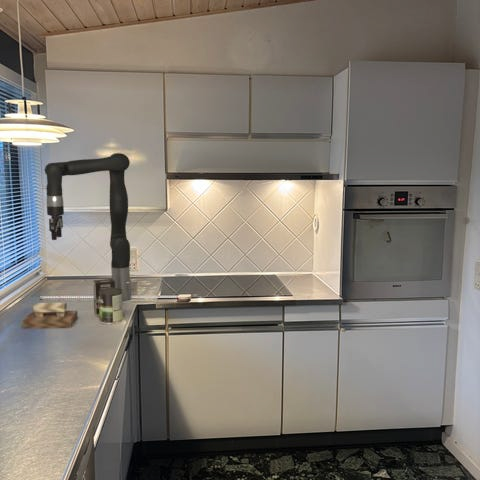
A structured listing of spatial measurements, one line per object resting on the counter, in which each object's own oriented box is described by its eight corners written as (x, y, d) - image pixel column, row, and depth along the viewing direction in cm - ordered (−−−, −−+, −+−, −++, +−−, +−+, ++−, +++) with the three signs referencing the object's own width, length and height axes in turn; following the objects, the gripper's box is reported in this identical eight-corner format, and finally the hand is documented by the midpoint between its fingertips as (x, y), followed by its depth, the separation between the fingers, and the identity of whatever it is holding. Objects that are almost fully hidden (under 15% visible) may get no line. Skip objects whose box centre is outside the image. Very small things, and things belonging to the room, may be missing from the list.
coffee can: (101, 325, 211) (100, 294, 209) (98, 318, 221) (97, 288, 219) (125, 322, 215) (124, 292, 213) (121, 316, 225) (120, 286, 223)
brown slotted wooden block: (77, 318, 220) (77, 310, 219) (71, 327, 208) (70, 318, 208) (32, 319, 218) (31, 311, 218) (23, 328, 206) (22, 319, 206)
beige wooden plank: (67, 319, 216) (66, 302, 214) (65, 322, 212) (64, 305, 210) (37, 320, 214) (36, 303, 213) (34, 323, 210) (33, 305, 209)
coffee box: (96, 317, 223) (95, 283, 220) (93, 313, 229) (92, 280, 226) (116, 314, 227) (115, 281, 225) (113, 310, 233) (112, 278, 230)
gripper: (59, 206, 224) (60, 240, 226) (67, 203, 238) (68, 236, 240) (42, 206, 223) (44, 240, 226) (51, 203, 237) (53, 236, 240)
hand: (56, 238), depth 233 cm, fingers open, 8 cm apart
